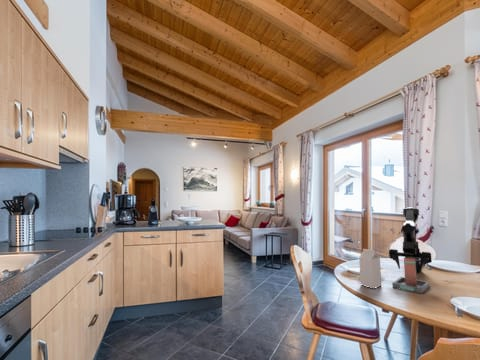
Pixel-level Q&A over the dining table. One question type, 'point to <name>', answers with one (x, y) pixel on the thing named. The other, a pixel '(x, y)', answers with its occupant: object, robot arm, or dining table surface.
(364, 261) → the milk carton
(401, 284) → the parts tray
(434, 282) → the dining table surface
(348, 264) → the dining table surface
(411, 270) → the cartridge
